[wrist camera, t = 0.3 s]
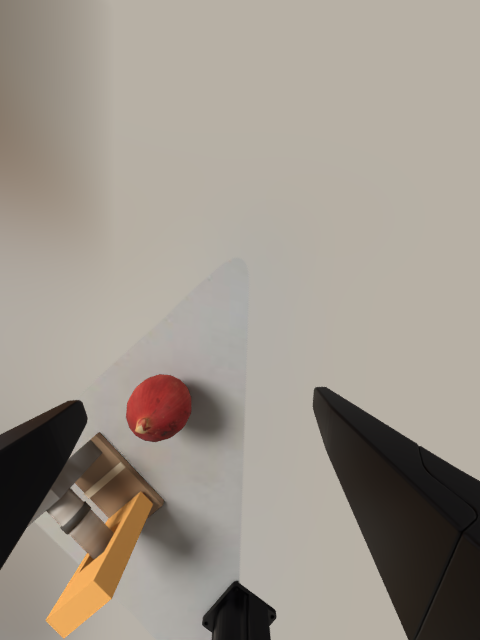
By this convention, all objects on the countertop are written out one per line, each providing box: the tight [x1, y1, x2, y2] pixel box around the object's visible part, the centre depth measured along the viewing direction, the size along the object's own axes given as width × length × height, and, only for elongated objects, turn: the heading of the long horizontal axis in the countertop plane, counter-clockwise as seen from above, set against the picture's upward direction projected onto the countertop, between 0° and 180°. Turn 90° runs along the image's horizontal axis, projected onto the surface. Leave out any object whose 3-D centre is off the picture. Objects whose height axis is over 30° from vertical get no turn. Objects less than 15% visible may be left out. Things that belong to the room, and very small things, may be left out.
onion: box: [126, 374, 191, 442], centre depth 21 cm, size 6×6×8 cm
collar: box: [46, 492, 153, 638], centre depth 21 cm, size 2×5×8 cm, turn 131°
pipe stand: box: [27, 432, 164, 560], centre depth 22 cm, size 11×6×6 cm, turn 41°
